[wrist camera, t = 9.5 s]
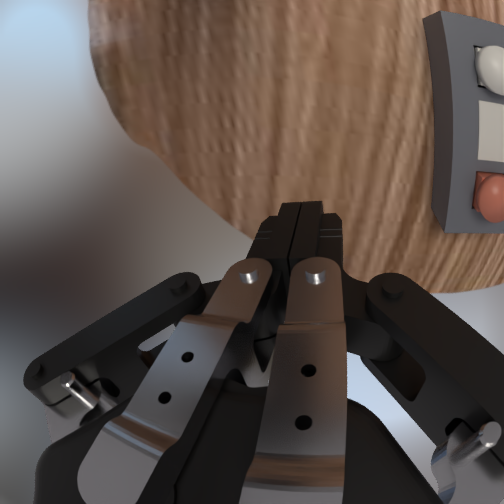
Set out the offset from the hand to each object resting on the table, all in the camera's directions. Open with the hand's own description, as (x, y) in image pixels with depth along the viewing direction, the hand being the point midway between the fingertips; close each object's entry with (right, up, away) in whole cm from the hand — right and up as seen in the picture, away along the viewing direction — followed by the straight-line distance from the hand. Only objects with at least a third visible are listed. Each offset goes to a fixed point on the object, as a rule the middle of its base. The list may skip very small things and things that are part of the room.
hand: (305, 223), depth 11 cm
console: (+27, +16, +16) cm, 35 cm away
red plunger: (+28, +9, +18) cm, 34 cm away
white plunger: (+25, +22, +11) cm, 35 cm away
